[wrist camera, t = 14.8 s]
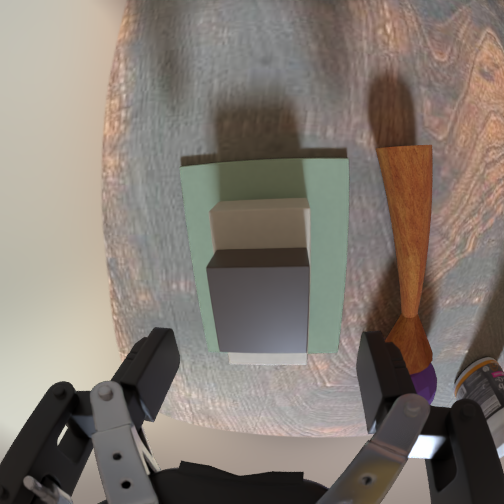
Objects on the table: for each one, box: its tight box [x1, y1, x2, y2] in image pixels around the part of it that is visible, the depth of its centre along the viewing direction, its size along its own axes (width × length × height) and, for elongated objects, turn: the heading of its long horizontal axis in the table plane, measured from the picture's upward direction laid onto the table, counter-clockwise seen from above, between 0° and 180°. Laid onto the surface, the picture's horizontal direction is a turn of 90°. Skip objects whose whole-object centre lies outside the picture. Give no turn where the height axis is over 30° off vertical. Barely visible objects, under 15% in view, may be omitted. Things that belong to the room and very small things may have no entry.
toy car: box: [206, 198, 311, 365], centre depth 16 cm, size 10×5×5 cm, turn 4°
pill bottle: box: [454, 357, 504, 458], centre depth 17 cm, size 6×6×10 cm
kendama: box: [376, 145, 437, 405], centre depth 16 cm, size 6×6×20 cm
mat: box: [180, 158, 349, 354], centre depth 19 cm, size 14×10×1 cm
